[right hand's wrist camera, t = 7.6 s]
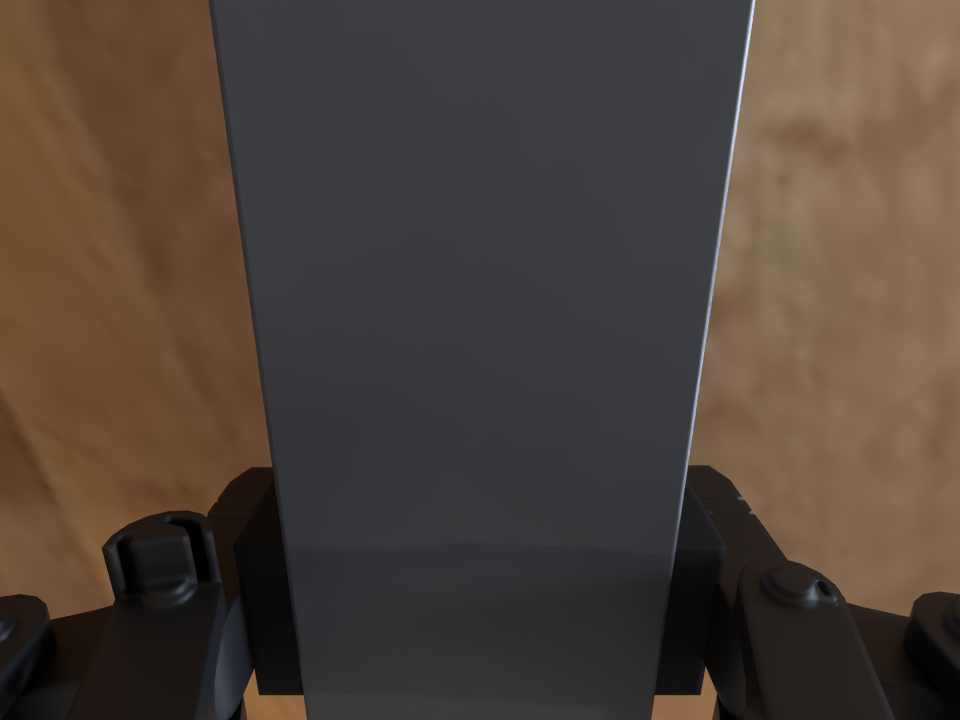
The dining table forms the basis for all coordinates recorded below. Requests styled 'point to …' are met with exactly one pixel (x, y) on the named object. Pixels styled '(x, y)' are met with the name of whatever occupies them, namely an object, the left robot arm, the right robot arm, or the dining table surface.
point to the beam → (480, 332)
